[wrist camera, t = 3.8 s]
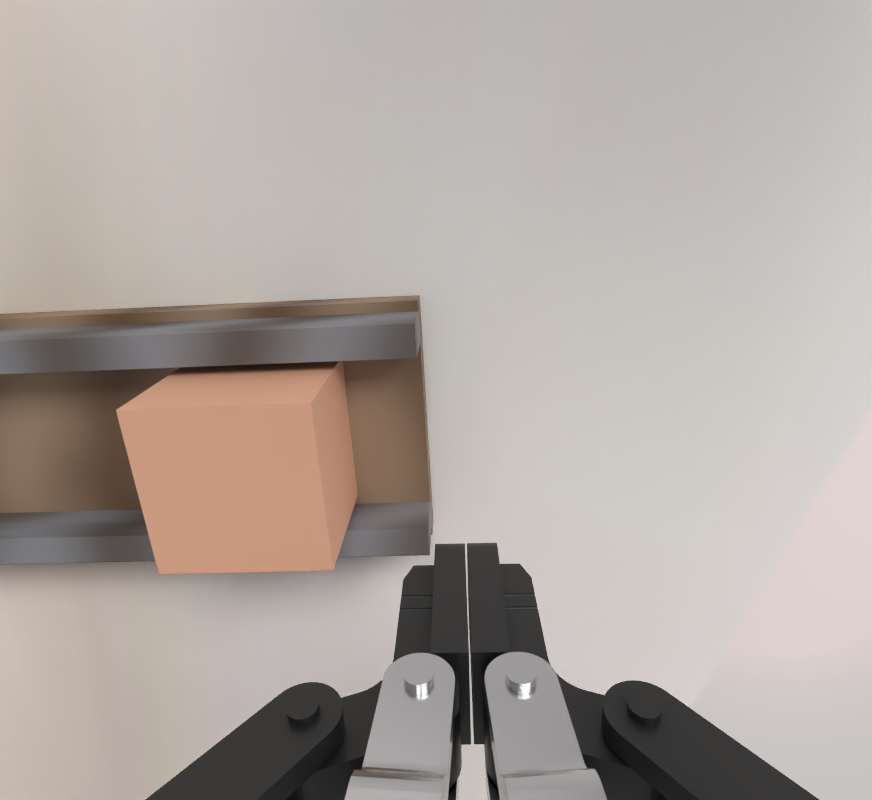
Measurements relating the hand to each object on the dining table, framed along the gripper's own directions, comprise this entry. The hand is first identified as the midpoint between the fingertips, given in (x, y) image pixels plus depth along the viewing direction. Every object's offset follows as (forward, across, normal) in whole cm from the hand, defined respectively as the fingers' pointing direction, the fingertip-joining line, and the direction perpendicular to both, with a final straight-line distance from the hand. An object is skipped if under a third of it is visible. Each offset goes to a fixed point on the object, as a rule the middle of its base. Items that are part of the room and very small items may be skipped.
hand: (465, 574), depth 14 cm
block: (+9, +7, 0) cm, 12 cm away
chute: (+10, +13, 0) cm, 17 cm away
